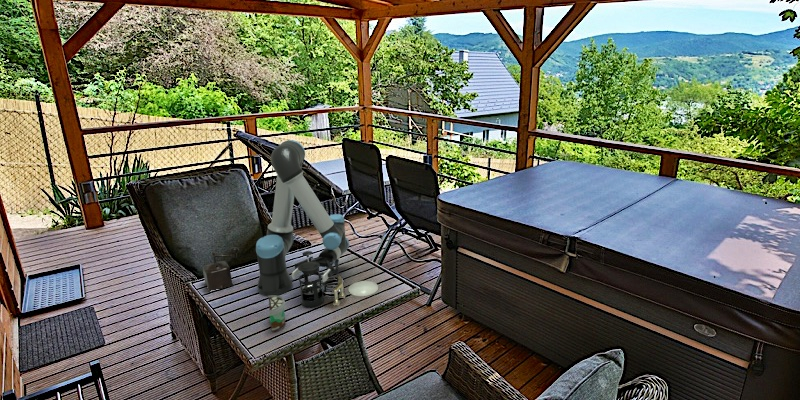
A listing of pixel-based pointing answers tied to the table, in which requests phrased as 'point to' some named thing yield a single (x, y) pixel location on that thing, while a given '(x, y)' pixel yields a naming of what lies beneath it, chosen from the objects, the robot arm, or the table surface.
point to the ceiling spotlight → (341, 295)
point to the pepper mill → (219, 272)
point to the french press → (311, 283)
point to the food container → (276, 312)
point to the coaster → (363, 288)
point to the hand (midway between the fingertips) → (308, 277)
